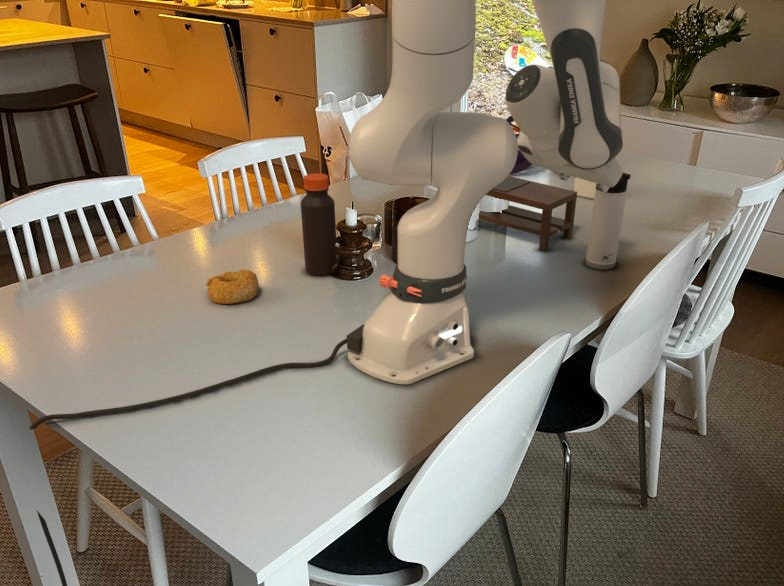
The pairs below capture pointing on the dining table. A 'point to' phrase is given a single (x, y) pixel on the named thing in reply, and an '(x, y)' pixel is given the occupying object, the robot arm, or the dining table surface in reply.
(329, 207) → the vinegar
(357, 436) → the dining table surface
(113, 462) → the dining table surface
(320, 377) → the dining table surface
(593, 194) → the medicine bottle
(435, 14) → the robot arm
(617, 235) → the travel mug
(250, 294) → the bagel
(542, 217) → the coffee table
